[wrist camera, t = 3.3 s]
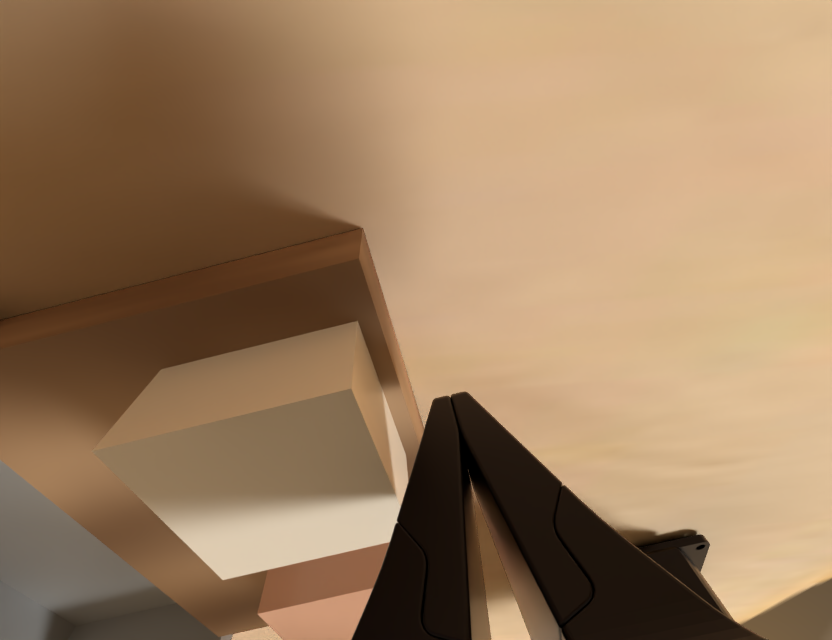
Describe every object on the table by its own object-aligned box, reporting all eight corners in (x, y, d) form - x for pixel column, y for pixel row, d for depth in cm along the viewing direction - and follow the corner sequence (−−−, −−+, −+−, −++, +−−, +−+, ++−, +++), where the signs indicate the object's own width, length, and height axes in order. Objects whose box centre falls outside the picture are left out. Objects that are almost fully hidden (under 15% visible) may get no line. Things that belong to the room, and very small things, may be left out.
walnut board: (453, 525, 18) (463, 582, 15) (237, 574, 18) (218, 636, 16) (362, 228, 10) (358, 258, 8) (-5, 321, 10) (-105, 375, 8)
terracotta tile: (446, 567, 15) (458, 645, 13) (328, 594, 15) (319, 675, 13) (419, 494, 12) (429, 575, 10) (278, 526, 12) (257, 614, 10)
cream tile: (406, 455, 11) (413, 536, 9) (252, 491, 11) (223, 579, 9) (357, 320, 9) (351, 388, 7) (161, 369, 9) (91, 451, 7)
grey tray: (246, 583, 18) (221, 675, 15) (80, 621, 19) (22, 719, 16) (-34, 291, 10) (-214, 368, 7) (-331, 367, 10) (-629, 474, 7)
